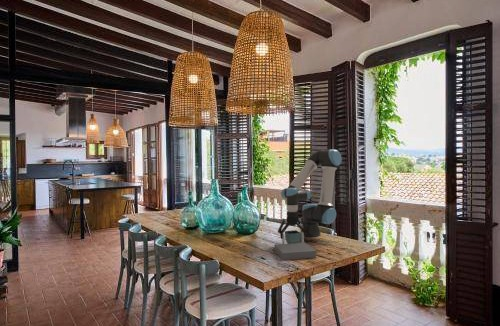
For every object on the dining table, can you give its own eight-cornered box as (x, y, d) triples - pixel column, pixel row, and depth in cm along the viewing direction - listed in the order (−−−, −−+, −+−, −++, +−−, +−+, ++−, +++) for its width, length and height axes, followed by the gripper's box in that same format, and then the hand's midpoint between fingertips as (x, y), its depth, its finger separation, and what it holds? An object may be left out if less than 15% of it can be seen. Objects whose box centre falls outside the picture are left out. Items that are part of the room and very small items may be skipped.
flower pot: (289, 247, 222) (289, 233, 221) (284, 244, 230) (284, 231, 230) (301, 246, 224) (301, 232, 224) (296, 243, 232) (296, 230, 232)
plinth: (304, 248, 218) (304, 242, 218) (316, 257, 198) (316, 250, 198) (274, 250, 215) (274, 244, 215) (283, 260, 195) (282, 253, 195)
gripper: (275, 212, 221) (276, 245, 221) (312, 211, 225) (312, 242, 225) (272, 211, 228) (273, 242, 229) (308, 209, 232) (308, 240, 233)
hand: (292, 242), depth 227 cm, fingers open, 13 cm apart
